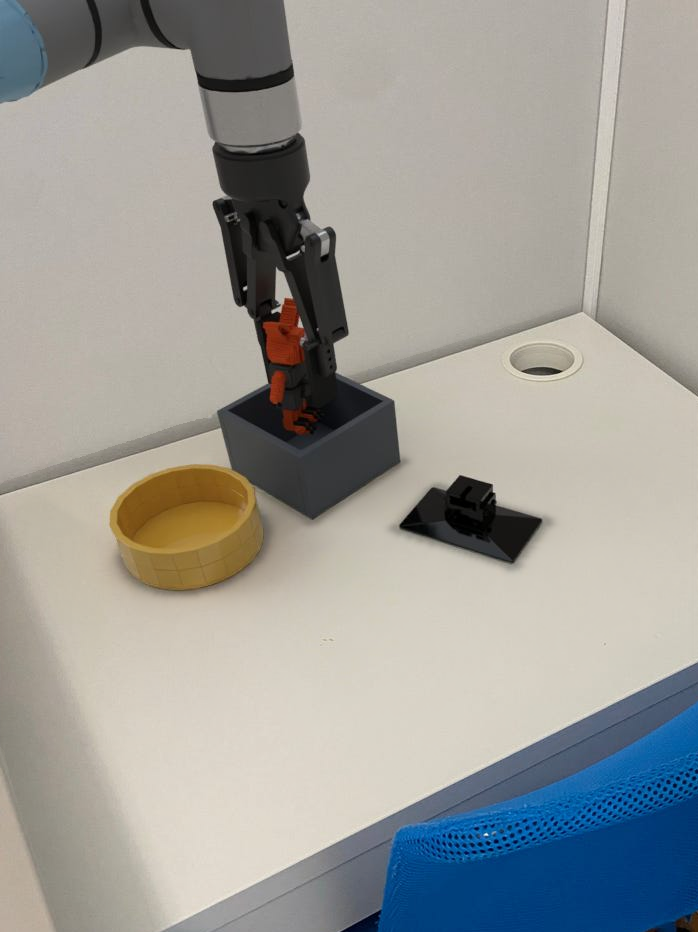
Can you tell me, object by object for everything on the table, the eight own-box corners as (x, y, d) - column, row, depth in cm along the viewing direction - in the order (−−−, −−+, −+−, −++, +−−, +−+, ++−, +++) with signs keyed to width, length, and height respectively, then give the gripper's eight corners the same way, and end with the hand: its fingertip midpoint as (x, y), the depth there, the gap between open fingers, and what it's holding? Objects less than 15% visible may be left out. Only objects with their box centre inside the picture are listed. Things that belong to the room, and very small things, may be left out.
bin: (232, 472, 99) (216, 410, 94) (320, 420, 105) (310, 360, 100) (312, 520, 93) (300, 457, 88) (400, 462, 100) (394, 400, 94)
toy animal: (321, 450, 92) (305, 337, 83) (269, 441, 93) (249, 329, 84) (349, 407, 97) (337, 296, 89) (300, 399, 98) (283, 289, 90)
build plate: (398, 529, 92) (393, 491, 89) (433, 488, 96) (430, 450, 93) (512, 564, 88) (512, 525, 84) (544, 520, 92) (545, 481, 89)
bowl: (96, 549, 91) (80, 512, 87) (207, 484, 98) (196, 448, 94) (180, 610, 84) (166, 573, 81) (292, 536, 91) (284, 500, 88)
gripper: (372, 148, 73) (398, 406, 90) (220, 102, 82) (269, 344, 99) (300, 177, 70) (341, 441, 86) (149, 126, 78) (213, 374, 95)
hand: (303, 389), depth 92 cm, fingers closed on toy animal, 6 cm apart
